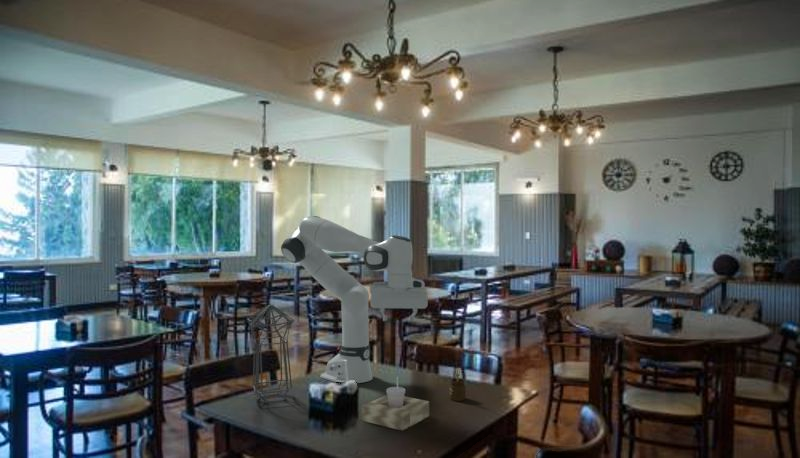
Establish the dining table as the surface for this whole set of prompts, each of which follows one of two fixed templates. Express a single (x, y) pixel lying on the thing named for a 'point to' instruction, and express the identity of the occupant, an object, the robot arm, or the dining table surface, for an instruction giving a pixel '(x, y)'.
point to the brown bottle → (457, 388)
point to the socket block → (395, 412)
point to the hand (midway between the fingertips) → (398, 320)
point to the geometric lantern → (270, 344)
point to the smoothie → (395, 396)
